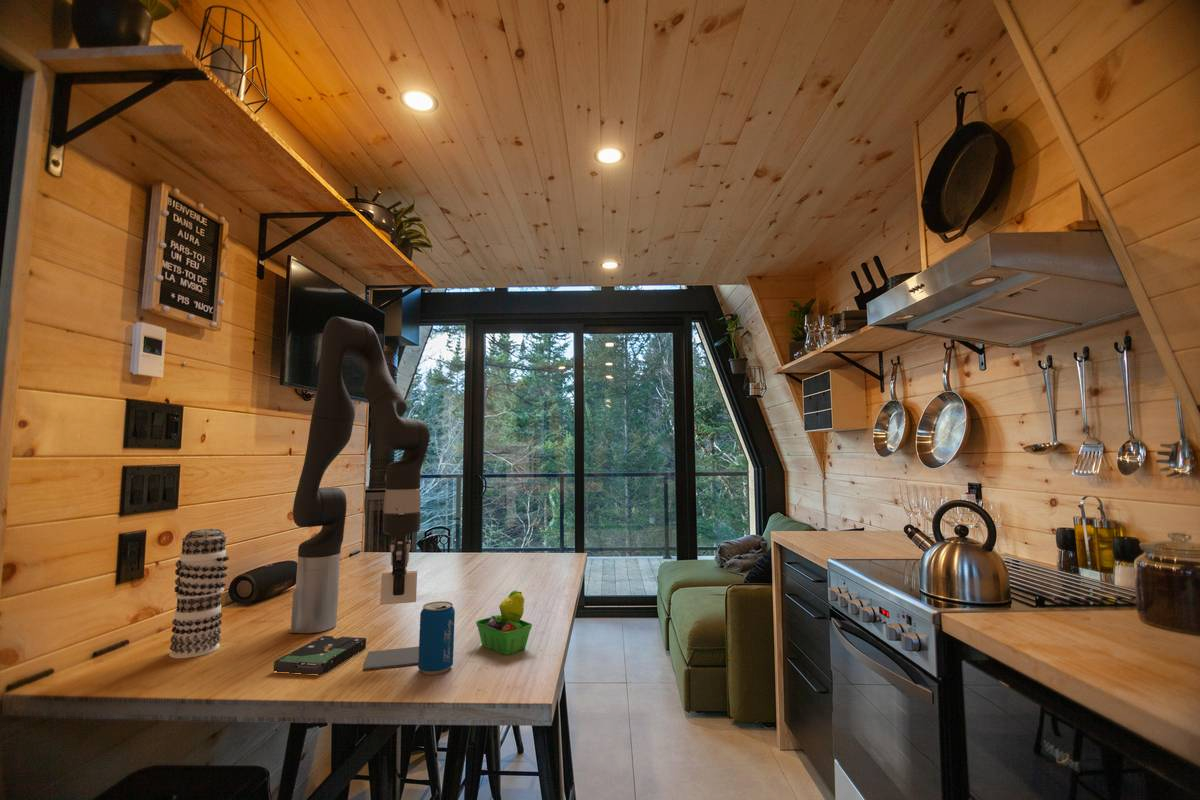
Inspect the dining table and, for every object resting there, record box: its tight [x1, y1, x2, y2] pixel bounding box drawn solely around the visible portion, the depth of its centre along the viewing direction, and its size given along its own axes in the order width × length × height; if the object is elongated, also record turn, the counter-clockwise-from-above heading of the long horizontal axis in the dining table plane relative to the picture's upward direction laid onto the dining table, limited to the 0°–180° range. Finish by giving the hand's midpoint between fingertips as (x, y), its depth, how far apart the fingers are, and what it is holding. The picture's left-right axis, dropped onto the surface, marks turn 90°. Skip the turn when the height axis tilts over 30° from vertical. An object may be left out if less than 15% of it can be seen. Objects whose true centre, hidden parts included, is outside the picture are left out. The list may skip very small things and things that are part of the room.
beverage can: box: [417, 600, 456, 676], centre depth 102 cm, size 6×6×12 cm
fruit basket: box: [475, 590, 533, 656], centre depth 114 cm, size 11×9×11 cm
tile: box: [379, 570, 418, 606], centre depth 110 cm, size 7×2×6 cm, turn 108°
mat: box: [362, 646, 419, 671], centre depth 106 cm, size 11×9×1 cm
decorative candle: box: [168, 528, 230, 659], centre depth 111 cm, size 9×9×25 cm
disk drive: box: [273, 635, 367, 676], centre depth 106 cm, size 10×3×15 cm
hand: (398, 593), depth 110 cm, fingers closed on tile, 2 cm apart
